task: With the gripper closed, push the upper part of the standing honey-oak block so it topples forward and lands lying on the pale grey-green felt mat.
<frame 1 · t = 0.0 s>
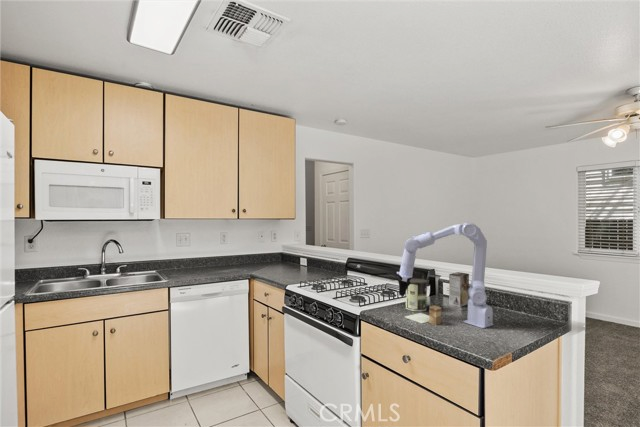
hand: (401, 293, 157), 11 cm above the countertop, tool pointing down, fingers open, 7 cm apart
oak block: (435, 323, 149), on the countertop
coffee can: (415, 308, 170), on the countertop
coffee box: (458, 304, 178), on the countertop
felt mat: (421, 318, 155), on the countertop
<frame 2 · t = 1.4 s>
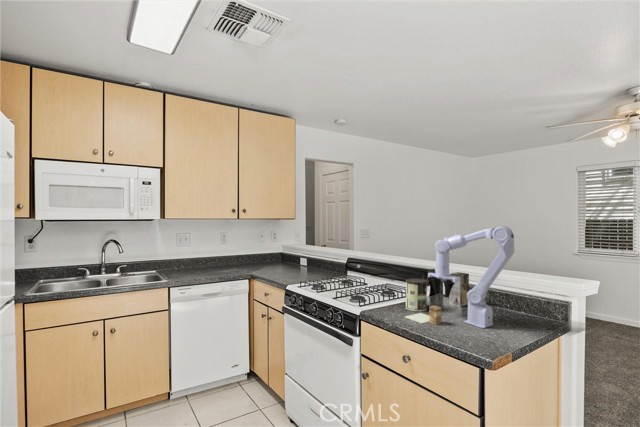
hand: (442, 295, 157), 10 cm above the countertop, tool pointing down, fingers open, 5 cm apart
nothing on the countertop moved.
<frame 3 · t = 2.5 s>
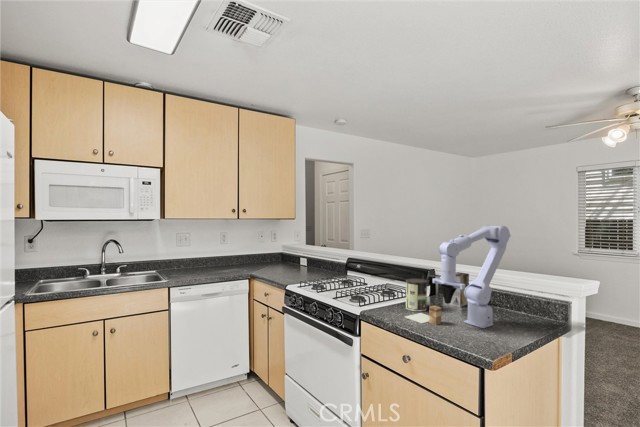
hand: (447, 303, 144), 10 cm above the countertop, tool pointing down, fingers closed
nothing on the countertop moved.
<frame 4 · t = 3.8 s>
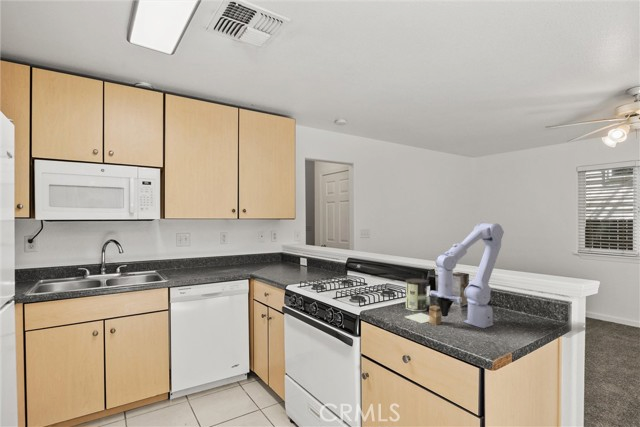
hand: (444, 315, 144), 4 cm above the countertop, tool pointing down, fingers closed
nothing on the countertop moved.
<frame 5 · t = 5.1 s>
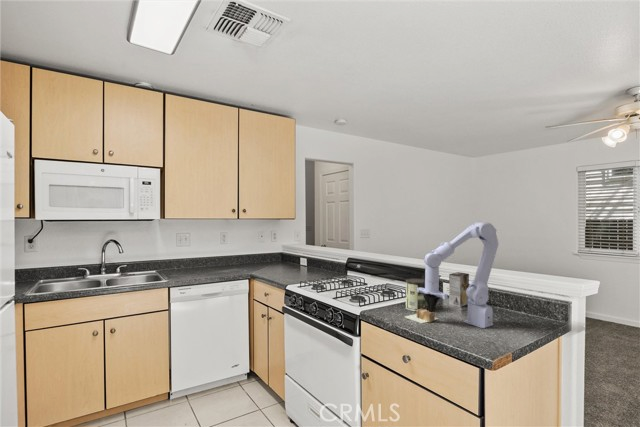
hand: (431, 311, 150), 4 cm above the countertop, tool pointing down, fingers closed
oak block: (432, 317, 150), point 2 cm above the countertop, tilted 90°, touching felt mat
everything else where it was.
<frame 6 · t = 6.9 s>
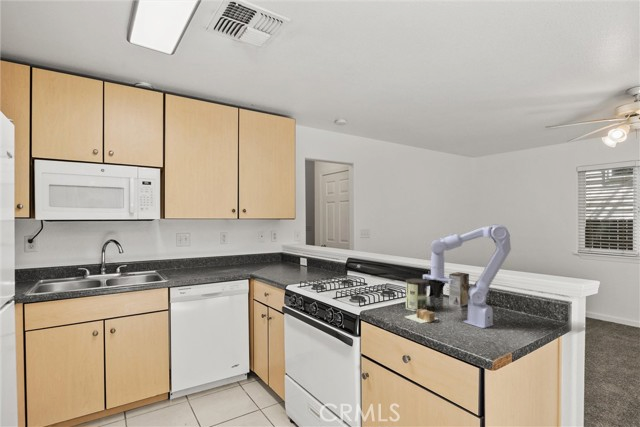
hand: (437, 297, 154), 10 cm above the countertop, tool pointing down, fingers closed
nothing on the countertop moved.
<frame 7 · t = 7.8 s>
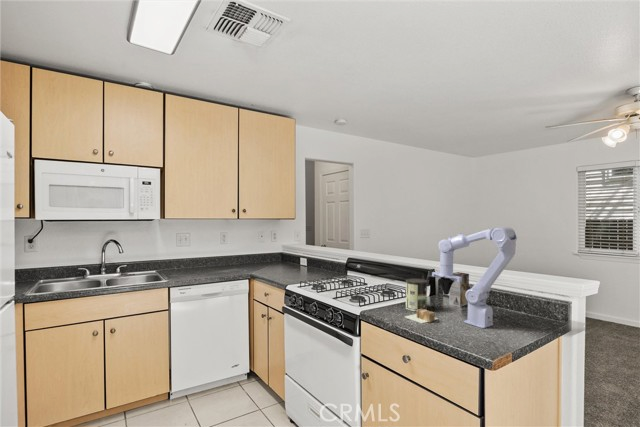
hand: (446, 294, 159), 10 cm above the countertop, tool pointing down, fingers closed
nothing on the countertop moved.
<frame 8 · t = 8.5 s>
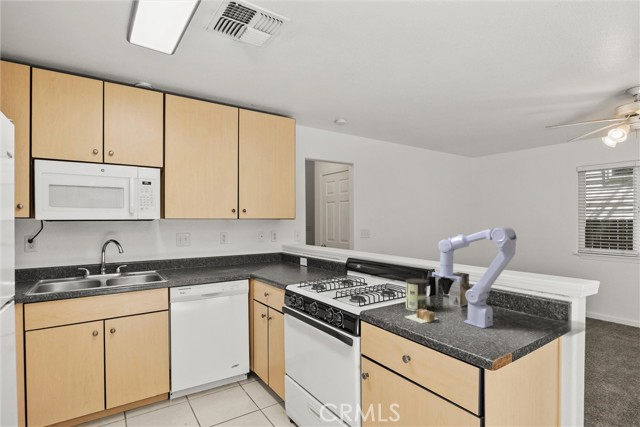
hand: (446, 294, 159), 10 cm above the countertop, tool pointing down, fingers closed
nothing on the countertop moved.
at the end: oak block tilted 90°; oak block inside the target area (1.1 cm from its centre), point 2.0 cm above the countertop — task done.
